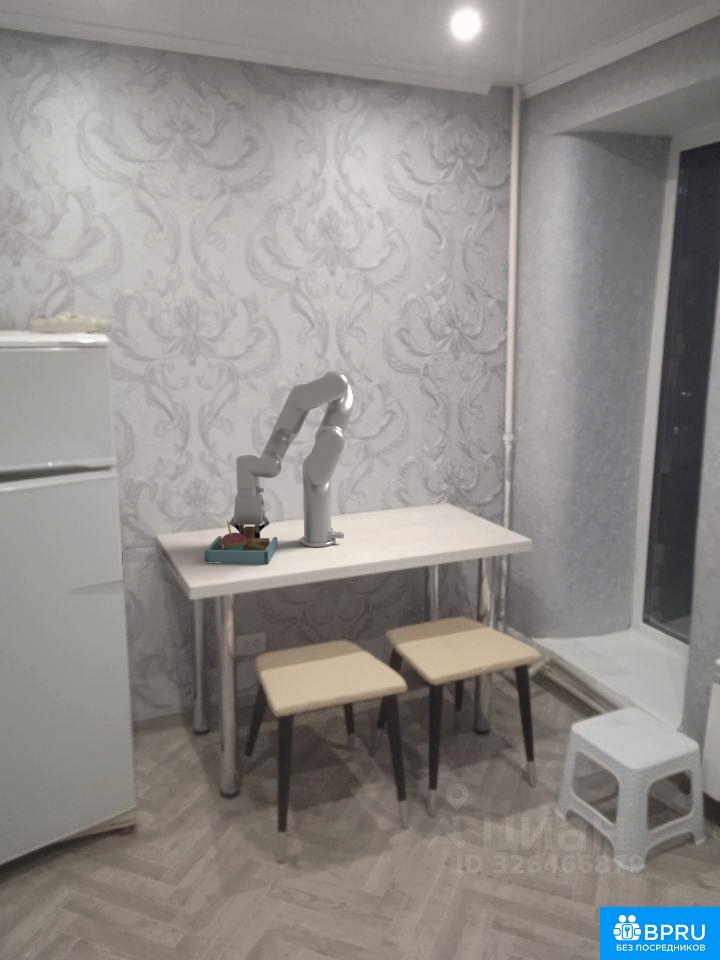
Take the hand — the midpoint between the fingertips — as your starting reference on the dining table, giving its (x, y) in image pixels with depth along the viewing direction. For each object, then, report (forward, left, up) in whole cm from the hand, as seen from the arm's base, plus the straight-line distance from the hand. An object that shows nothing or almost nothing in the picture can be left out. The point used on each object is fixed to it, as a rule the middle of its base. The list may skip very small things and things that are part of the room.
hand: (250, 542), depth 252 cm
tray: (0, +12, -1) cm, 12 cm away
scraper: (0, +2, -1) cm, 2 cm away
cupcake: (+3, +10, -1) cm, 11 cm away
